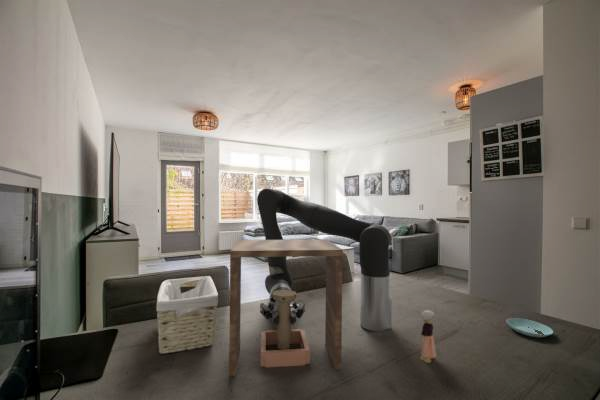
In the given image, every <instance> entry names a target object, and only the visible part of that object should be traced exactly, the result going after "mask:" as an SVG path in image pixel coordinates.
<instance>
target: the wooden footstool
mask: <svg viewBox="0 0 600 400" xmlns="http://www.w3.org/2000/svg"><path fill="white" fill-rule="evenodd" d="M229 253H230V254H229V255H230V259H229V260H230V262H229V265H230V266H229V267H230V268H229V334H228V335H229V339H228V340H229V341H228V342H229V345H228V347H229V351H228V352H229V353H228V354H229V355H228V358H229V360H228V368H229V369H228V377H236V376H237V369H238V365H239V364H238V363H239V358H240V351H241V313H242V312H241V310H242V309H241V303H242V302H241V299H242V298H241V297H242V296H241V293H242V292H241V290H242V285H241V284H242V283H241V282H242V258H267V257H286V258H287V257H293V258H294V257H325V319H324V320H325V321H324V322H325V326H324V327H325V328H324V329H325V330H324V333H325V334H324V335H325V336H324V339H325V341H324V346H325V349H326V351H327V352H328V353H327V354H328V356H329V358H330V361H331V363H332V366H333V368H334V370H335V371H339V370H340V371H341V370H342V339H343V338H342V335H343V334H342V328H343V327H342V326H343V324H342V323H343V318H342V317H343V314H342V313H343V249H342V248H340V246H337V244H335V243H333V242H331V241H330V240H328V239H283V240H266V239H237V240H236V242H235V243H234V245H233V246H232V248H231V249H230V251H229Z"/></svg>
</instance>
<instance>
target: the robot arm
mask: <svg viewBox="0 0 600 400" xmlns="http://www.w3.org/2000/svg"><path fill="white" fill-rule="evenodd" d="M256 201H257V209H258V211H259V215H260V220H261V223H262V227H263V233H264V238H265V239H264V240H284V238H283V236H282V233H281V229H280V228H279V225H278V224H279V223H278V219H277V214H281V215H285V216H288V217H290V218H294V219H295V220H297V221H298V222H300V223H301V224H302V225H304V226H305V227H307V228H310V229H312V230H313V231H318V232H319V233H323V234H326V235H331V236H335V237H340V238H341V237H342V238H347V239H350V240H352V241H355V242H357V243H359V244H358V245H359V247H358V249H359V253H358V255H359V266H360V320H359V322H360V324H359V325H360V326H361V327H362V328H363V329H366V331H367V330H368V331H371V332H384V331H387V330H390V329H391V330H392V324H393V323H392V319H393V317H392V316H393V315H392V314H393V313H392V311H393V310H392V308H393V306H392V305H393V300H392V298H390V273H391V272H390V270H391V269H390V265H389V263H390V262H389V249H390V248H389V247H390V246H391V243H392V235H391V233H390V231H389V229H387V228H386V227H385V226H382V225H379V224H375V223H370V222H366V221H362V220H359V219H356V218H353V217H351V216H349V215H346V214H345V213H343V212H342V213H341V212H339V211H337V210H334V209H332V208H330V207H327V206H324V205H321V204H318V203H315V202H311V201H310V202H309V201H307V200H306V201H305V200H302V199H301V200H300V199H298V198H295V197H293V196H291V195H289V194H287V193H285V192H283V191H281V190H279V189H275V188H269V187H267V188H263V189H261V190H260V191H259V193H258V194H257V198H256ZM266 258H267V264H268V266H269V267H271V268H276V269H281V271H282V272H277V273H270V274H268V275H267V276H266V277H265V280H264V286H265V290H266V291H267V293H268V294H269V302H268V304H265V303H264V302H261V303H259V312H260V314H261V315H262V316H263V318H264V319H265V320H270V319H272V323H273V324H274V325H275V326H277V325H278V301H276V300H274V299H273V292H274V291H277V290H291V291H292V289H293V288H294V280H293V276H292V274H291V271H290V269H289V266H288V261H287V257H266ZM290 310H291V326H292V325H295V323H297V319H301V318H302V317H303V316H304V313H305V312H306V302H305V301H301V302H300V303H297V302H296V301H295V299H294V300H293V301H291V304H290Z"/></svg>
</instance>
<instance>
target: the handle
mask: <svg viewBox="0 0 600 400" xmlns="http://www.w3.org/2000/svg"><path fill="white" fill-rule="evenodd" d="M296 298H297V292H296V291H295V290H292V289H291V290H277V291H274V292H273V299H274V300H276V301H278V325H276V330H277V342H278V344H277V348H278V350H290V344H291V343H290V338H291V329H292V325H291V310H290V304H291V301H293V300H294V301H295V300H296Z"/></svg>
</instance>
